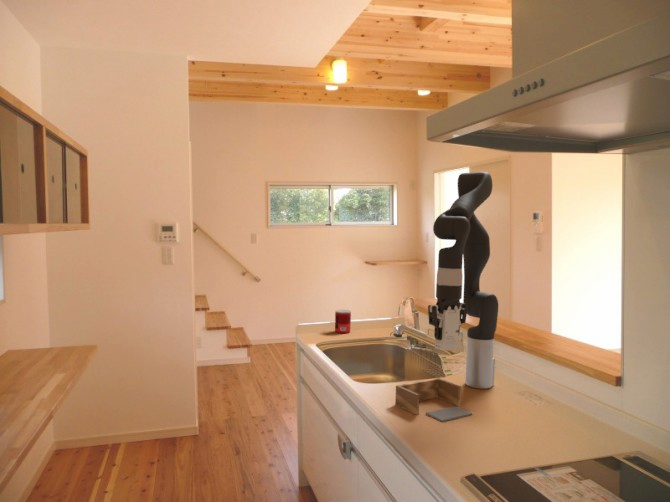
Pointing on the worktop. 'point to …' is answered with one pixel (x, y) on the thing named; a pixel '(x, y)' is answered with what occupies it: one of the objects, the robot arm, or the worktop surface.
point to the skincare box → (449, 331)
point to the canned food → (342, 321)
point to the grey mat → (448, 413)
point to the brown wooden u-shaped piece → (426, 393)
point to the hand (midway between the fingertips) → (446, 338)
